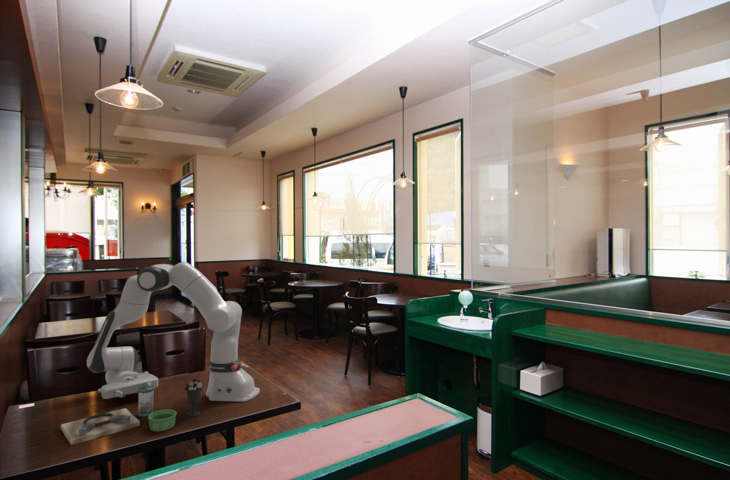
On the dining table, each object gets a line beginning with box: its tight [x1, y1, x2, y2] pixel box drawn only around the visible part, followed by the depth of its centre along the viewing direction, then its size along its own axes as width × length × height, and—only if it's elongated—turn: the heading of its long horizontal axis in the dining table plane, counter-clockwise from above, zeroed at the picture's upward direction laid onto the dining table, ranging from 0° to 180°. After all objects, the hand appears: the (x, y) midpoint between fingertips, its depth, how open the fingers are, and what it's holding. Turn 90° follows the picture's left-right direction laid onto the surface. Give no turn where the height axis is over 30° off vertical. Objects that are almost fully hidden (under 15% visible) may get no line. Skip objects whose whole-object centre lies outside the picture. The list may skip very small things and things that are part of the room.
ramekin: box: [147, 408, 177, 432], centre depth 143 cm, size 9×9×4 cm
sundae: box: [183, 375, 205, 418], centre depth 154 cm, size 7×7×15 cm
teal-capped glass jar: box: [137, 385, 155, 418], centre depth 153 cm, size 5×5×10 cm
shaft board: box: [60, 408, 141, 446], centre depth 142 cm, size 20×16×4 cm
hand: (136, 392), depth 160 cm, fingers open, 8 cm apart
